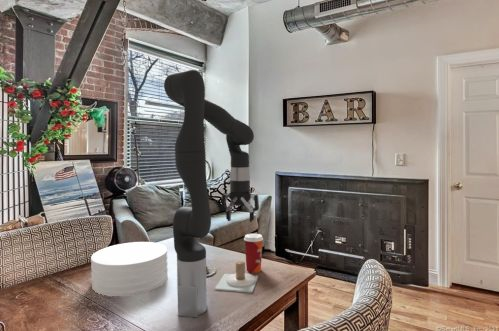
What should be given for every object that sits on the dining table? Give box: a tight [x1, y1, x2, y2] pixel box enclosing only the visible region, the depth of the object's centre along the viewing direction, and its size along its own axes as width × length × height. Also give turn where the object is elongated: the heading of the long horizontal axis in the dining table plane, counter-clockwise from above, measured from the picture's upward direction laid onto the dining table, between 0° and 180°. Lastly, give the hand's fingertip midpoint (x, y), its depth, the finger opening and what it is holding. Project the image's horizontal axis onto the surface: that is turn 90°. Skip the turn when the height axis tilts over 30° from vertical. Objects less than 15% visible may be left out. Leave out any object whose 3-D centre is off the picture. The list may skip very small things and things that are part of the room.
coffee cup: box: [243, 233, 264, 274], centre depth 136 cm, size 8×8×15 cm
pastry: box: [206, 265, 217, 278], centre depth 134 cm, size 12×12×5 cm
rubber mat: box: [214, 273, 259, 294], centre depth 123 cm, size 14×14×1 cm
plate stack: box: [90, 241, 169, 297], centre depth 126 cm, size 28×28×12 cm
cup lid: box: [226, 261, 255, 287], centre depth 124 cm, size 11×11×7 cm
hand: (240, 221), depth 123 cm, fingers open, 8 cm apart
